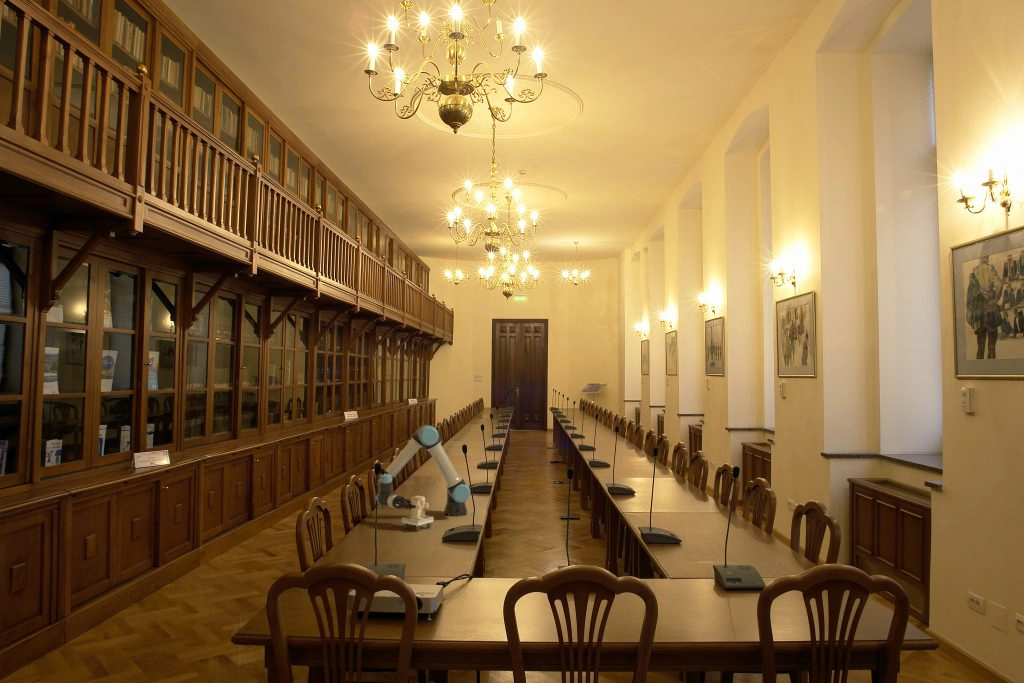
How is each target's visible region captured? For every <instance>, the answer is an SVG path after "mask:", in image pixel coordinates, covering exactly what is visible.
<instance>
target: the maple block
mask: <svg viewBox="0 0 1024 683" xmlns="http://www.w3.org/2000/svg"><path fill="white" fill-rule="evenodd" d="M410 500H411V505H412V504H417V505H421V510H417V509H412V508H411V510H410V514H409V516H410V518H415V519H420V518H424V517H425V515H426V508H425V503H426V496H421V495H415V496H411V497H410Z"/></svg>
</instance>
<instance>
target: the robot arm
mask: <svg viewBox="0 0 1024 683" xmlns="http://www.w3.org/2000/svg"><path fill="white" fill-rule="evenodd" d="M423 447H424V450H425V451H428V452H429V453H430V455H431V457H432V460H434V462H435V465H436V466H437V468H438V470H439V471H440V473H441V474H442V477H443V478H444V481H445V482H446V504H445V508H444V511H443V514H444V513H445V514H449V515H462V516H465V515H464V514H466V515H467V514H468V508H467V505H466V502H467V501H468V500H469V498H470V497H471V489H470V486H468V485H467V484H466V480H465V478H463V477H462V476H459V474H458V472H457V470H456V469H455V466H454V465H453V463H452V462H451V460H450V458H449V456H448V454H447V452H446V451H445V449H444V447H443V445H442V439H441V437H440V435H439V432H438V430H437V429H436V428H435V427H434V426H432V425H429V424H422V425H420V426H419V427H418V428H417V429H416V431H415V432H414V434H412V435H411V437H410V441H409V442H408V443H407V444H406V445H405V447H404V448H403V449H401V451H400V452H399V453H398V455H397V456H396V457H395V458H394V459H393V461H391V463H390V464H389V465H388V466H387V467H386V468H385V470H384V471H383V472H384V475H383V474H382V473H381V474H382V475H381V476H380V479H379V483H378V485H379V492H378V493H377V494H376V497H375V501H376V500H377V502H378V504H377V505H378V506H381V507H389V508H392V509H394V508H395V509H399V510H401V509H406V510H407V509H408V510H409V511H411V508H412V509H417V510H421V505H417V504H412V505H411V499H405V497H404V496H403V495H397V494H393V493H392V492H393V491H392V490H393V480H394V478H395V477H396V476H397V475H398V474H399V473H400V471H401V470H402V469H403V468H404V467H405V465H406V464H407V463H408V462H409V461H410V460H411V459H412V458H413V456H414V455H415V454H416V453H417V452H418V451H419V449H421V448H423ZM425 509H429V502H425ZM445 514H444V515H445Z"/></svg>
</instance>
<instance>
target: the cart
mask: <svg viewBox="0 0 1024 683" xmlns="http://www.w3.org/2000/svg"><path fill="white" fill-rule="evenodd" d="M433 522H434V516H430V515H426V514H425V517H424V518H420V519H415V518H410V515H407V516H404V517H403V516H402V517H401V523H403V529H408V528H409V525H414V526H415V528H414V529H415V531H417V532H419V531H420V530H421V526H422V525H425V524H426V527H427V528H429V529H430V528H431V527H432V523H433Z"/></svg>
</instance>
